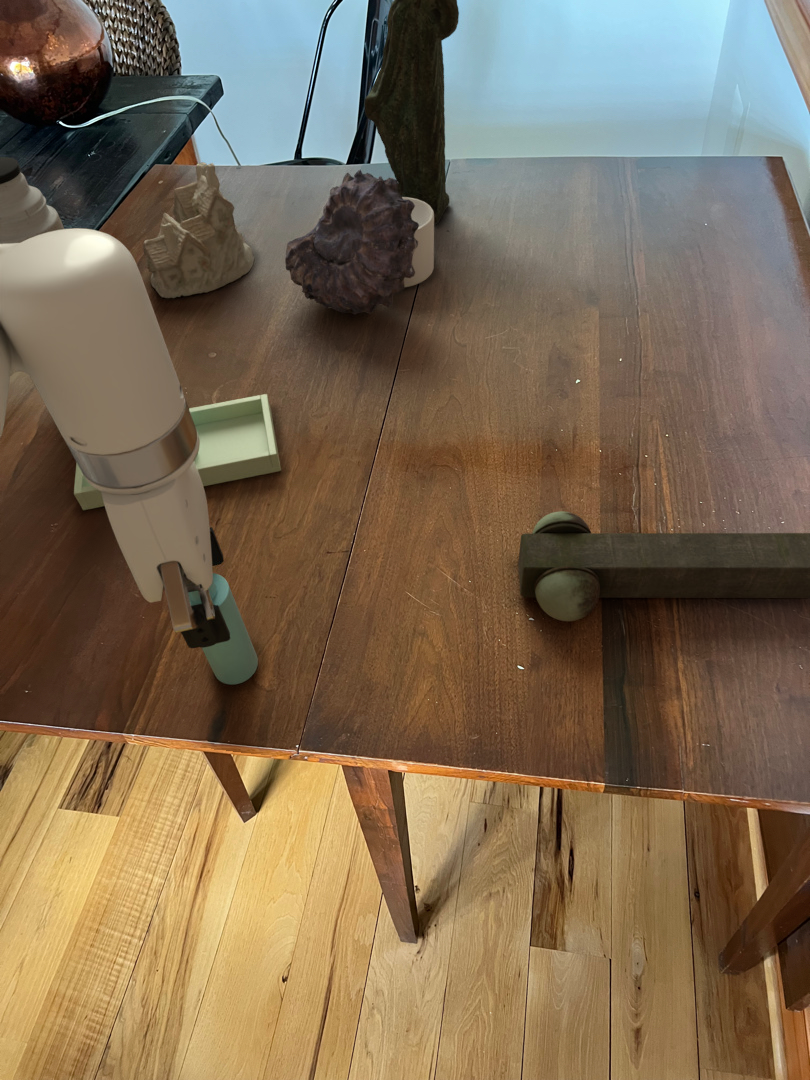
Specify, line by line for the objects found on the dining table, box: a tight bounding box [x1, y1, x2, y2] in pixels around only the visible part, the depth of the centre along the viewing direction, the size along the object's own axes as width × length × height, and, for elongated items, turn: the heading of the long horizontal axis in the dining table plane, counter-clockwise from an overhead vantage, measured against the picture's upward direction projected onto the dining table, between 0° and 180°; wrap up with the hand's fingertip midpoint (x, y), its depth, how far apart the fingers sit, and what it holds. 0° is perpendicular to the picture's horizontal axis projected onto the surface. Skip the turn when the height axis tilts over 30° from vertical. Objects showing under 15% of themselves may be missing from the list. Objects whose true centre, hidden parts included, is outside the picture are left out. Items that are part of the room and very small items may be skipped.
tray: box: [73, 393, 282, 511], centre depth 86 cm, size 22×11×3 cm, turn 102°
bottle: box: [184, 572, 259, 686], centre depth 64 cm, size 4×4×15 cm
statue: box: [363, 0, 460, 226], centre depth 108 cm, size 15×10×35 cm, turn 83°
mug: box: [402, 197, 435, 288], centre depth 108 cm, size 13×10×8 cm
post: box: [517, 510, 810, 622], centre depth 70 cm, size 11×6×30 cm
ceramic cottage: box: [142, 161, 255, 299], centre depth 109 cm, size 16×16×15 cm
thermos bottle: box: [0, 156, 65, 244], centre depth 85 cm, size 8×8×28 cm
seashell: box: [284, 169, 419, 315], centre depth 98 cm, size 20×13×15 cm
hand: (207, 600), depth 62 cm, fingers open, 7 cm apart
